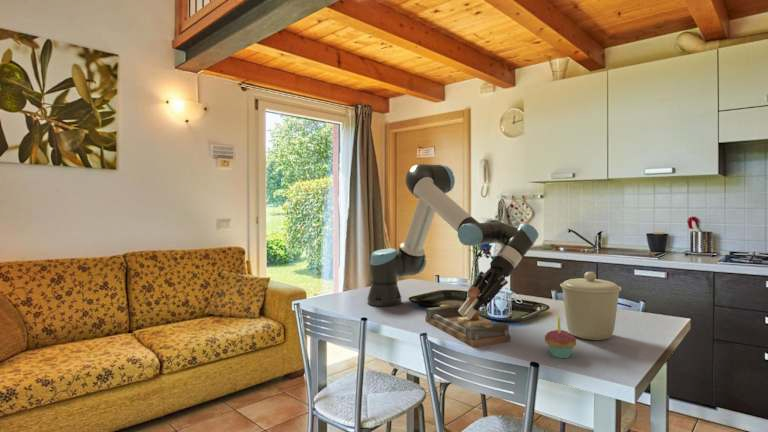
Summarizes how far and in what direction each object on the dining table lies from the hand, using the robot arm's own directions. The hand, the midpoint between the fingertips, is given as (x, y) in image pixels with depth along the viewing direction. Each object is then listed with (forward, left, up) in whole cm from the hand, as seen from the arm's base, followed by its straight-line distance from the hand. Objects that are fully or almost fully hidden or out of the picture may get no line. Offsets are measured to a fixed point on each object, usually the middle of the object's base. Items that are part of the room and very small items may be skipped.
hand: (464, 315), depth 144 cm
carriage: (0, +4, -5) cm, 6 cm away
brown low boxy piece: (-6, +4, -7) cm, 10 cm away
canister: (+16, +38, -7) cm, 42 cm away
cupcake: (+26, +16, -7) cm, 31 cm away
